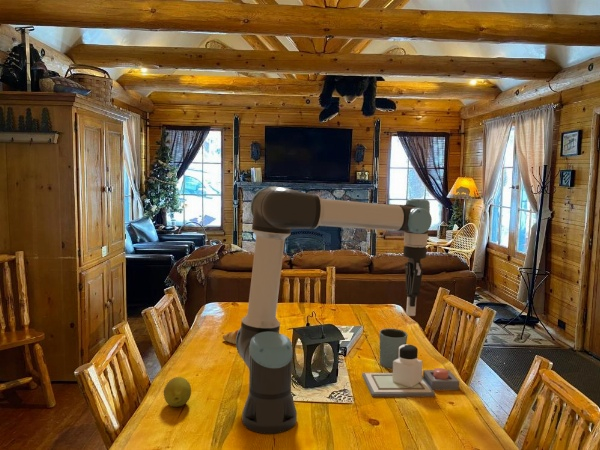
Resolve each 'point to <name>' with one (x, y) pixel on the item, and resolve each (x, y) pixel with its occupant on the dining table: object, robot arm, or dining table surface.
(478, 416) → the dining table surface
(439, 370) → the button
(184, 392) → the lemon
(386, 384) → the picture board
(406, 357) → the medicine bottle
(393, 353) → the grey cylindrical container
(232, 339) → the croissant
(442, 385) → the button housing
